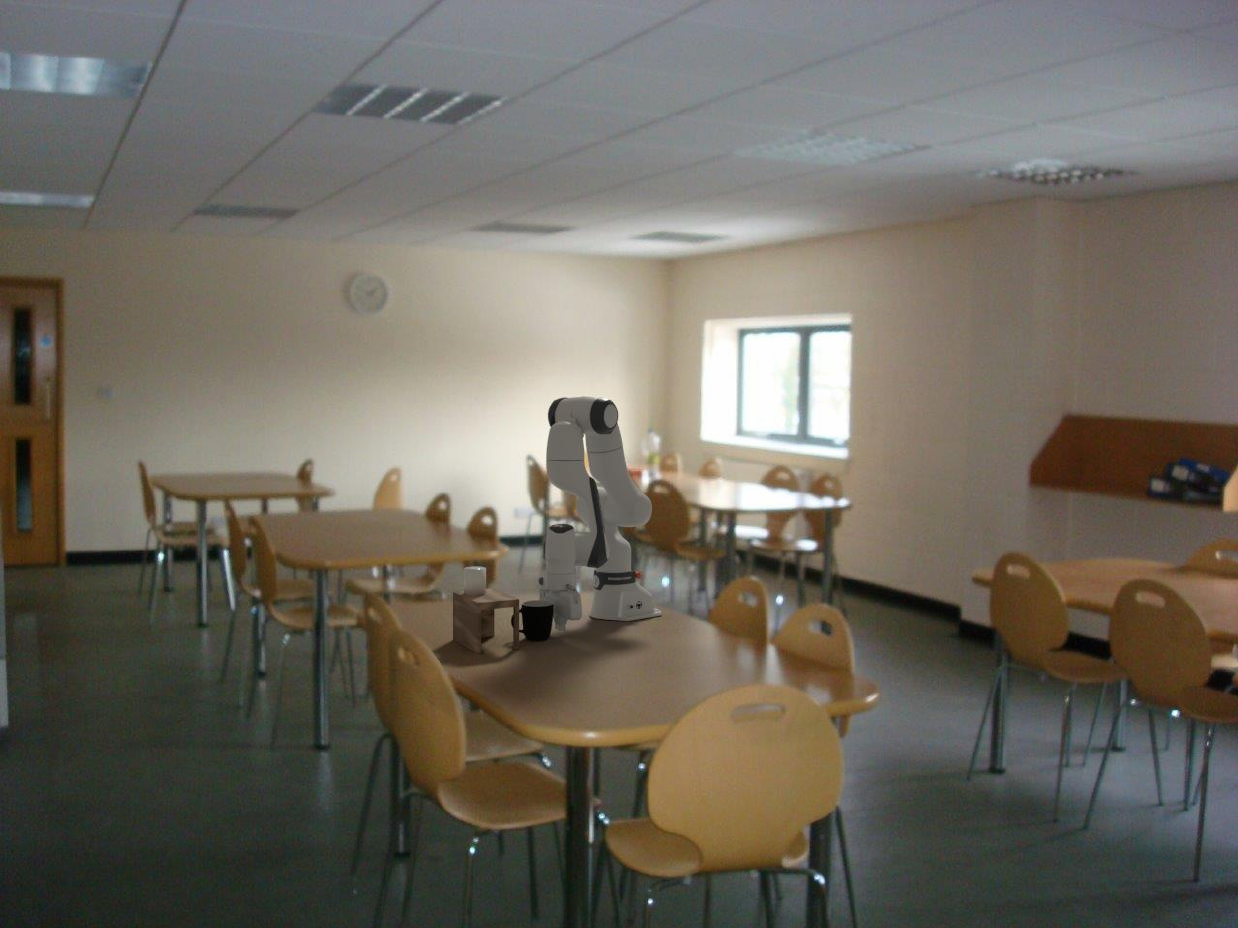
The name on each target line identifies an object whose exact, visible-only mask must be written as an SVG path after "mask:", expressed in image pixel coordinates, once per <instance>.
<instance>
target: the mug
mask: <svg viewBox="0 0 1238 928" xmlns="http://www.w3.org/2000/svg"><path fill="white" fill-rule="evenodd" d="M553 611H554V604H553V602H550V601H544V600H539V599H538V600H537V599H536V600H534V599H533V600H525V601H522V602H521V607H520V608H519V614H521V621H522V622H521V623H522V629H519V634H520V633H521V634H522V635H523V636H524V638H525V639H526V640H527V641H529V642H530V641H531V642H545V641H548V640H549V638H550V637H551V633H552V629H553V624H554V623H553V621H554V618H553ZM510 624H511V627H512V628H513V614H512V616H511V618H510Z"/></svg>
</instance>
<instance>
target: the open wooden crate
mask: <svg viewBox="0 0 1238 928" xmlns="http://www.w3.org/2000/svg"><path fill="white" fill-rule="evenodd" d="M507 608H513V613H512V615H513V627H512V633H513V634H512V635H513V636H512V641H513V642H512V648H513V649H514V650H517V649H518V650H519V649H520V632H519V630H520V613H519V610H520V599H519V598H518V597H515V596H512V595H510V594H507V593H505V592H502V591H501V590H498V589H496V588H486V594H484V595H465V594H464V590H459V591H458V590H457V591H456V590H455V591H453V592H452V640H453V641H454V642H455V643H458V644H460V645H462V646H463V647H465V648H467V649H469V650H470V651H473V652H474V653H476V654H481V653H482V638H488V637H489V638H491V637H492V638H493V637H495V610H496V609H507Z"/></svg>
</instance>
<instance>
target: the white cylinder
mask: <svg viewBox="0 0 1238 928" xmlns="http://www.w3.org/2000/svg"><path fill="white" fill-rule="evenodd" d="M486 589H487V567H484V566H466V567H464V568H463V591H464V594H465V595H484V594H486Z"/></svg>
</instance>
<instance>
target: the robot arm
mask: <svg viewBox="0 0 1238 928" xmlns="http://www.w3.org/2000/svg"><path fill="white" fill-rule="evenodd" d="M547 420H548V424H549V428H550V429H549V431H548V435H547V436H548V437H547V443H546V453H545V457H546V459H545V466H546V467H545V468H546V469H545V470H546V476H547V479H548V480H549V482H550V483H551V484H552V485H553V486H554V487H555V488H557V489H559V490H560V491H563V492H565V493H567V494H570V495H571V496H575V497H577V499H576V503H575V511H576V513H577V516H578V517H579V518H580V519H581V520H582V522H583V523H584V524H585V525H586V526H587V528H588V530H589V532H585V533H583V532H576V530H575V527H574V526H573V525H571V524H569V523H556V524H555V523H554V524H552V525H550V526H549V527H548V528H547V532H546V538H545V540H544V541H543V550H542V551H543V554H542V555H543V557H542V558H544V560H545V562H546V566H545V570H544V575H541V576H539V577H537V584H538V585H539V588H538V600H544V601H550V602H553V604H554V611H553V621H554V623H555V626H554V628H555V630H557V631H559V632H566V625H567V623H568V620H569V621H572V622H573V621H580V620H581V619H582V618H583V617H582V616H583V609H582V608H583V607H582V605H583V604H582V598H581V597H582V596H581V594H580V592H578V589H577V567H586V568H591V569H594V570H593V581H592V582H593V596H592V597H593V598H592V603H591V608H590V612H589V614H588V615H589V617H591V618H593V619H599V620H605V621H606V620H607V621H609V620H610V621H621V622H630V621H635V620H636V621H637V620H642V619H647V618H654V617H660V616H662V611H661V610H660V609H658V608H656V607H655V601H654V597H653V595H652V592H651V593H650V592H649V591H648V590H647V589H646V588H644V587H643V586H642V585H641V584H639V582H637V581H636V580H637V579H639V580H640V579H642V578H643V574H642V572H641V571H640V572H639V571H634V570H633V569H632V547H631V543H630V542H629V541H628V540H627V539H626V538H624V537H623V536H622V534H621V532H620V531H619V528H618V527H625V528H633V527H641V526H645V525H646V524H647V523H648V522H649V521H650V519H651V516H652V512H653V505H652V502H651V499H650V498H649V496H648V495H646V494H645V493H644V492H643V491H642V490H640V489H639V487H638V486H637V485H636V483H635V482H634V480H633V478H632V476H631V475H630V473H629V469H628V467H627V463H626V462H627V461H626V456H625V451H624V444H623V439H622V435H621V430H620V426H619V424H618V422H619V410H618V408H617V406H616V404H615V403H614V401H613V400H612V399H609V398H605V397H596V396H595V397H594V396H583V395H582V396H574V397H567V396H566V397H561V398H557V399H554V400H553V401H552V403H550V406H549V408H548V411H547ZM584 437H585V442H584ZM585 448H586V454H587V461H588V467H589V472H590V474H589V473H588V471H587V469H586V465H585ZM590 475H591V476H590ZM596 481H597V482H598V483H599V484H600V485H602V487H603V488H598V485H597V482H596Z"/></svg>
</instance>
